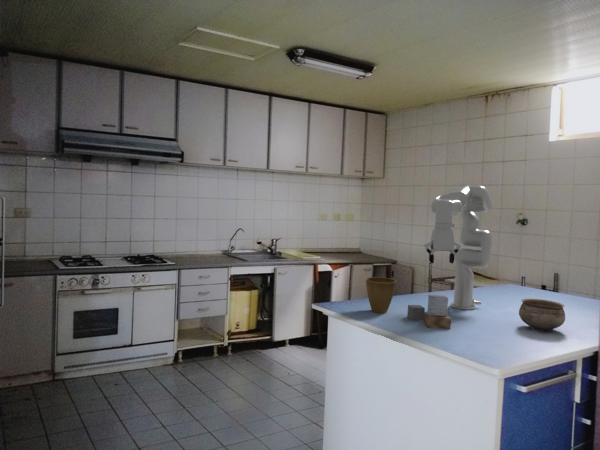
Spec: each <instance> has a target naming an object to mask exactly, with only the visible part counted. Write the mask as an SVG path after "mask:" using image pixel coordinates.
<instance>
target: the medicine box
mask: <svg viewBox="0 0 600 450" xmlns="http://www.w3.org/2000/svg"><path fill="white" fill-rule="evenodd" d="M427 299H428V301H427V312H428V314H429V315H432V316H447V315H448V306H449V305H448V303H449V297H447V295H440V294H429V295H428V298H427Z"/></svg>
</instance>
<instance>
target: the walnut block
mask: <svg viewBox="0 0 600 450" xmlns="http://www.w3.org/2000/svg"><path fill="white" fill-rule="evenodd" d="M422 323H424V325H425V327H426V328H427V329H428V328H430V329H444V330H450V329H451V325H452V317H450V316H449V315H448V314H447V316H432V315H429V314H428V311H425V312H424V317H423V321H422Z"/></svg>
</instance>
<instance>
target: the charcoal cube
mask: <svg viewBox="0 0 600 450" xmlns="http://www.w3.org/2000/svg"><path fill="white" fill-rule="evenodd" d="M425 309H426V307H424V306H423V305H421V304H408V305H407V316H406V317H407V318H408V319H409V320H410V321H420V322H421V321H422V322H423V317H424V312H426V311H425Z"/></svg>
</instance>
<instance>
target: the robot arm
mask: <svg viewBox="0 0 600 450" xmlns="http://www.w3.org/2000/svg"><path fill="white" fill-rule="evenodd" d="M430 208H431V212H432V214H435V215H434V216H435V217H434V218H435V220H434V221H435V222H434V228H432V232H431V235H430V236H431V237H430V241H429V242H426V244H424V245H423V246H424V247H423V248H424V249H425V251H426V252H427V253H428V261H429V263H430V264H434V263H435V261H434V260H435V255H434V254H435V252H449V253H450V254H449V257H448V262H449V263H450V264H454V262H455V276H454V291H453V302H451V303H450V307H452V308H453V309H459V310H469V311H470V310H475V309H476V306H475V305H481V304H482V301H481V300H475V299H473V296H474V285H475V284H474V282H475V275H474V271H473V270H472V269H471V268H474V269H475V268H477V269H486V268H488V267H489V264H490V259H491V252H492V244H493V235H492V232H490V231H489V230H486V229H480V219H479V217H478V215H476V213H489V212H490V211H491V210H492V208H493V199H492V198H491V195H490V193H489V191H488V189H487V188H486V187H485V186H482V185H462V186H461V187H459V188H458V189H457V190H455V191H454V192H453V191H452V192H448V193H444V194H440V195H439V196H437V197H435V198H434V199H433V200H432V203H431V207H430ZM458 215H461V217H462V225H461V230H460V231H461V232H460V233H461V234H460V240H459V241H460V244H461V245H460V244H459V243H456V242H455V236H454V234H455V233H454V229H453V228H455V225H456V224H453V216H458ZM461 246H464V247H468V248H464V247H463V248H461ZM429 247H430V248H429ZM473 248H477V249H473ZM478 248H479V249H478Z"/></svg>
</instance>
